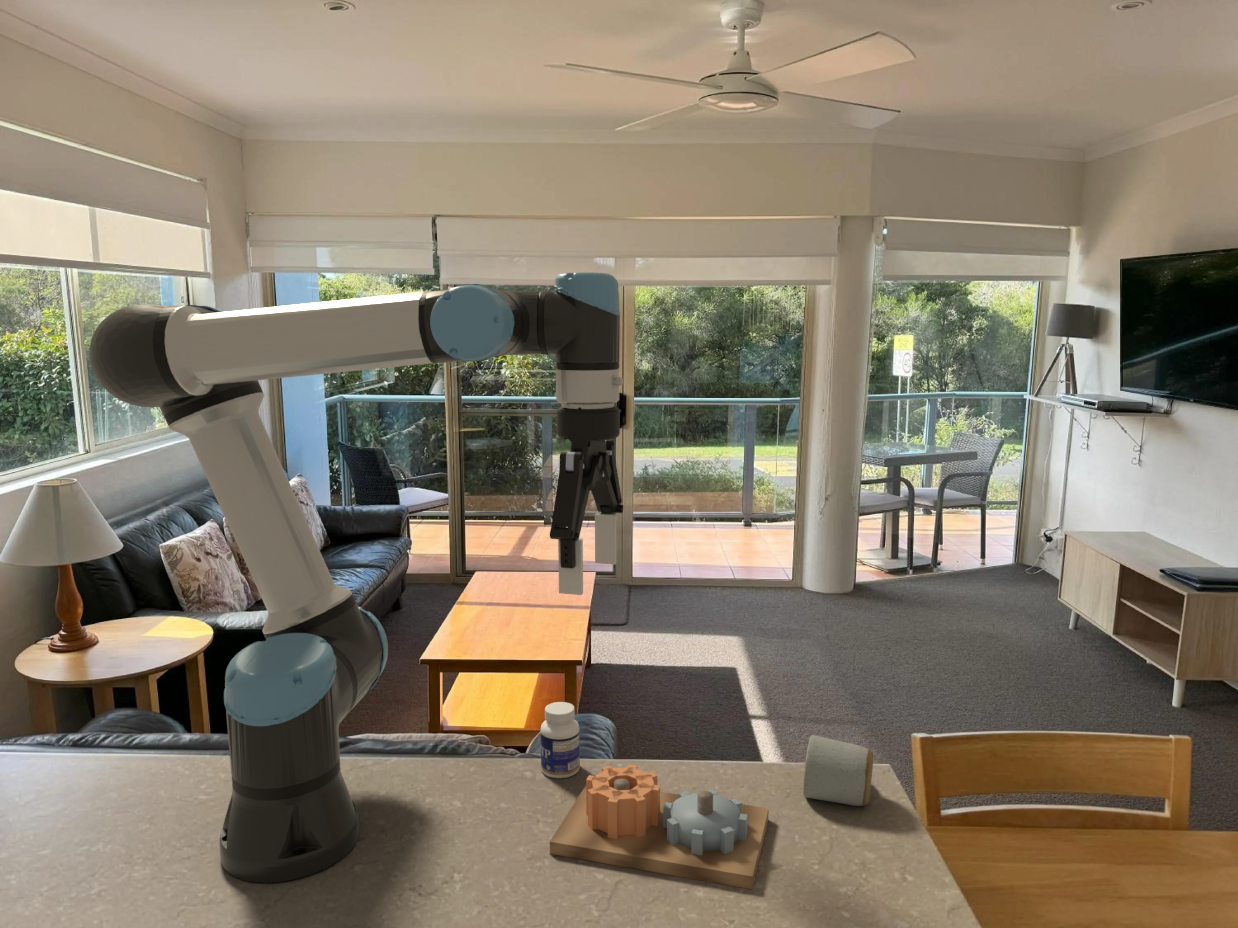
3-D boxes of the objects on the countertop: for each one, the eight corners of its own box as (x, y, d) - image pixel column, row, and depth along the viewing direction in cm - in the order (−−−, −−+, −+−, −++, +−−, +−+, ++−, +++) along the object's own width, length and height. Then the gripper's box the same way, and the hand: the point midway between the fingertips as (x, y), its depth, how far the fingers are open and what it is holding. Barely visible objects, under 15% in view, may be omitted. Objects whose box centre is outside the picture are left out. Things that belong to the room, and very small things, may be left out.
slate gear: (654, 847, 99) (654, 826, 99) (673, 803, 108) (673, 784, 108) (739, 861, 97) (740, 840, 96) (752, 815, 106) (752, 795, 105)
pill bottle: (537, 763, 121) (536, 702, 120) (574, 757, 123) (573, 697, 122) (545, 782, 116) (544, 718, 115) (584, 775, 118) (583, 713, 117)
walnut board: (549, 853, 101) (549, 804, 100) (588, 791, 114) (588, 748, 113) (752, 889, 94) (753, 837, 93) (768, 819, 107) (769, 773, 107)
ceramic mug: (869, 819, 108) (872, 759, 106) (801, 808, 110) (803, 749, 109) (872, 778, 118) (875, 723, 116) (810, 769, 120) (812, 715, 119)
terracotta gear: (575, 831, 102) (575, 795, 102) (599, 793, 111) (598, 759, 110) (649, 844, 100) (649, 807, 99) (667, 804, 108) (667, 769, 107)
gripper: (584, 416, 93) (586, 611, 96) (645, 397, 116) (644, 554, 120) (518, 414, 95) (522, 605, 98) (590, 396, 118) (592, 550, 122)
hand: (589, 577), depth 109 cm, fingers open, 13 cm apart
